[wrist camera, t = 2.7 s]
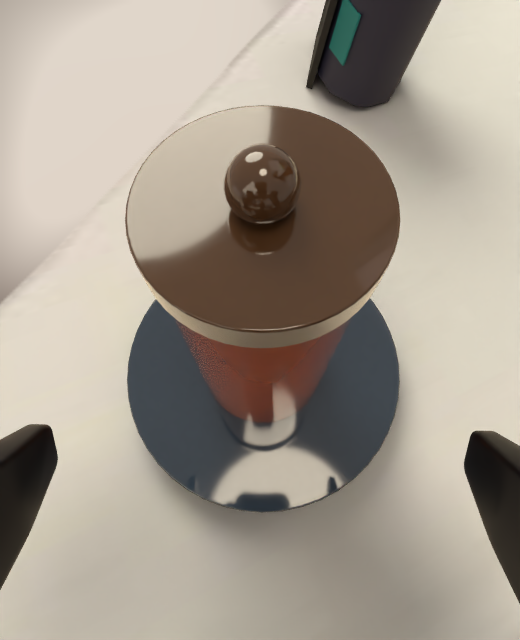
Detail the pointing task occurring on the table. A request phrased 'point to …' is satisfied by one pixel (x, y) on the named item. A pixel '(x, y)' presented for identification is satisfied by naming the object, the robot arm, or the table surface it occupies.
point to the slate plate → (263, 438)
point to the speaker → (367, 46)
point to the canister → (262, 247)
